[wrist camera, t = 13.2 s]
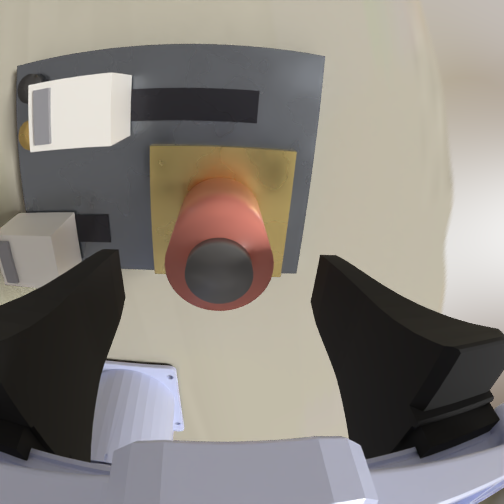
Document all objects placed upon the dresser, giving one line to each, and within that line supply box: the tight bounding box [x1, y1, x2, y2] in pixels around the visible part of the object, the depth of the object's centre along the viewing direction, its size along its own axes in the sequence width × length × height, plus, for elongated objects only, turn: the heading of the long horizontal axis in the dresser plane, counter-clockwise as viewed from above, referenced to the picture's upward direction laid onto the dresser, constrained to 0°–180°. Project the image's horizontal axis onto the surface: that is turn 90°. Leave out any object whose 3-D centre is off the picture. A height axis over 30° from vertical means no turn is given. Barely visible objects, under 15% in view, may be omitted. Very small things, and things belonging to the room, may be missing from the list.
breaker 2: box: [0, 212, 82, 288], centre depth 15 cm, size 3×4×3 cm
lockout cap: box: [165, 178, 274, 311], centre depth 14 cm, size 4×4×6 cm
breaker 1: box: [28, 72, 132, 152], centre depth 12 cm, size 3×4×3 cm
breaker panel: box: [16, 44, 325, 277], centre depth 15 cm, size 12×16×2 cm
